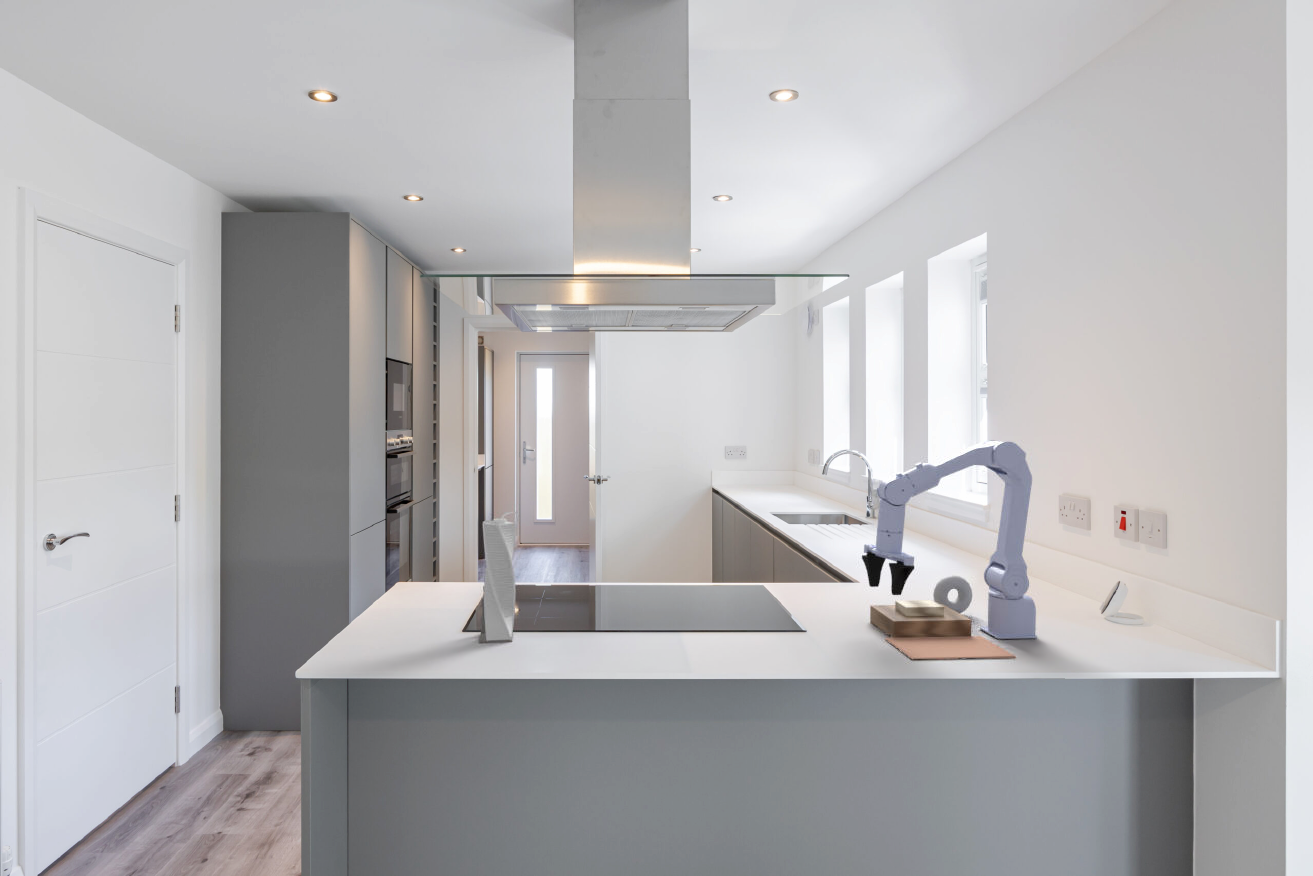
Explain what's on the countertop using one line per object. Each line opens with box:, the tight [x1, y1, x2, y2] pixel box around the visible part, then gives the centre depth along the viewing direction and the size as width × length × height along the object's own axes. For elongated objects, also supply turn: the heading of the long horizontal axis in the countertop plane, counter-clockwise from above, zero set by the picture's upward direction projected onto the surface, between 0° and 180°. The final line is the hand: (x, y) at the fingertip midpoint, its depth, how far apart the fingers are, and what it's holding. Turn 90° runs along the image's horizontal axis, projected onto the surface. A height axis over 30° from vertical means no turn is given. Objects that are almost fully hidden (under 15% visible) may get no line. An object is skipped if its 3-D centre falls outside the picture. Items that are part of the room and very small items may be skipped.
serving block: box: [869, 604, 973, 638], centre depth 175 cm, size 18×14×4 cm
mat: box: [884, 635, 1016, 661], centre depth 160 cm, size 22×14×1 cm, turn 95°
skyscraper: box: [478, 510, 520, 644], centre depth 165 cm, size 8×8×28 cm
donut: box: [932, 574, 973, 614], centre depth 188 cm, size 10×4×10 cm, turn 99°
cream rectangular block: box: [894, 599, 944, 616], centre depth 174 cm, size 9×6×2 cm, turn 95°
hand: (884, 590), depth 171 cm, fingers open, 7 cm apart
